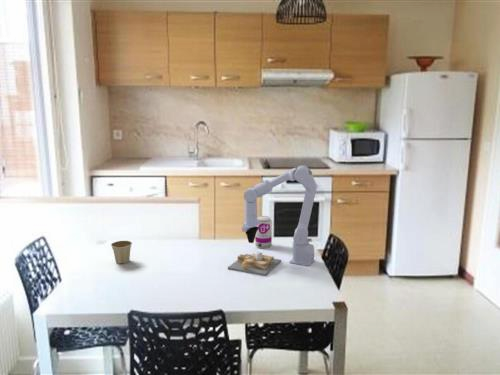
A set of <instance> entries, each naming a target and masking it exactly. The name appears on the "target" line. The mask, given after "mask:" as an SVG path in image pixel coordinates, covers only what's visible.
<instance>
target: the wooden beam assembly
mask: <svg viewBox="0 0 500 375" xmlns="http://www.w3.org/2000/svg"><path fill="white" fill-rule="evenodd" d="M250 255H251V256H247V255H245V254H239V255H237V260H238V262H246V266H247V267H253V268H258V269H264V270H265V269H266V268H267V267H268V266H269V265H271V264H272V263H273V262H274V259H275V256H271V255H265V254H262V261H258V260H256V253H252V254H250Z"/></svg>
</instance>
